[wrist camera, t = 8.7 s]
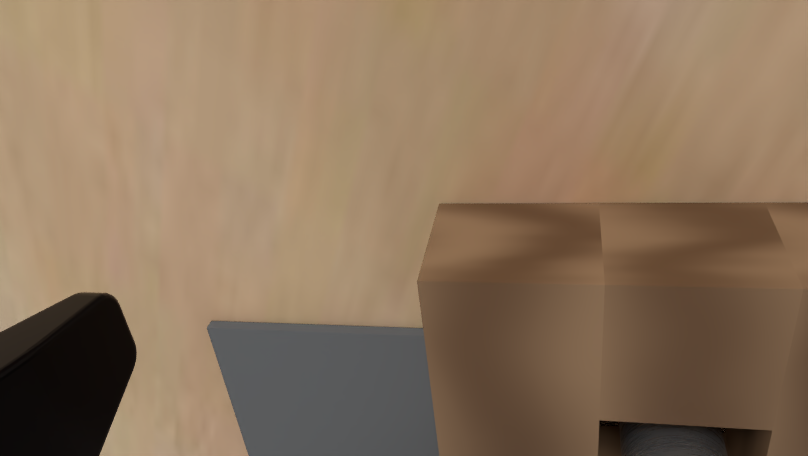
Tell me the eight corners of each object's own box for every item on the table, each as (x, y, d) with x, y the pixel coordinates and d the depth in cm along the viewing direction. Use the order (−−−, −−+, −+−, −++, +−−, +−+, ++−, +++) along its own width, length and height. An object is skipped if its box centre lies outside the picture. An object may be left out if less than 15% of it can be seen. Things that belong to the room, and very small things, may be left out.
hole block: (958, 202, 19) (1039, 293, 16) (848, 531, 27) (888, 641, 23) (439, 203, 22) (417, 281, 19) (469, 499, 30) (456, 592, 26)
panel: (480, 330, 25) (479, 338, 24) (494, 517, 30) (493, 525, 30) (211, 320, 27) (207, 327, 27) (268, 496, 32) (265, 504, 32)
